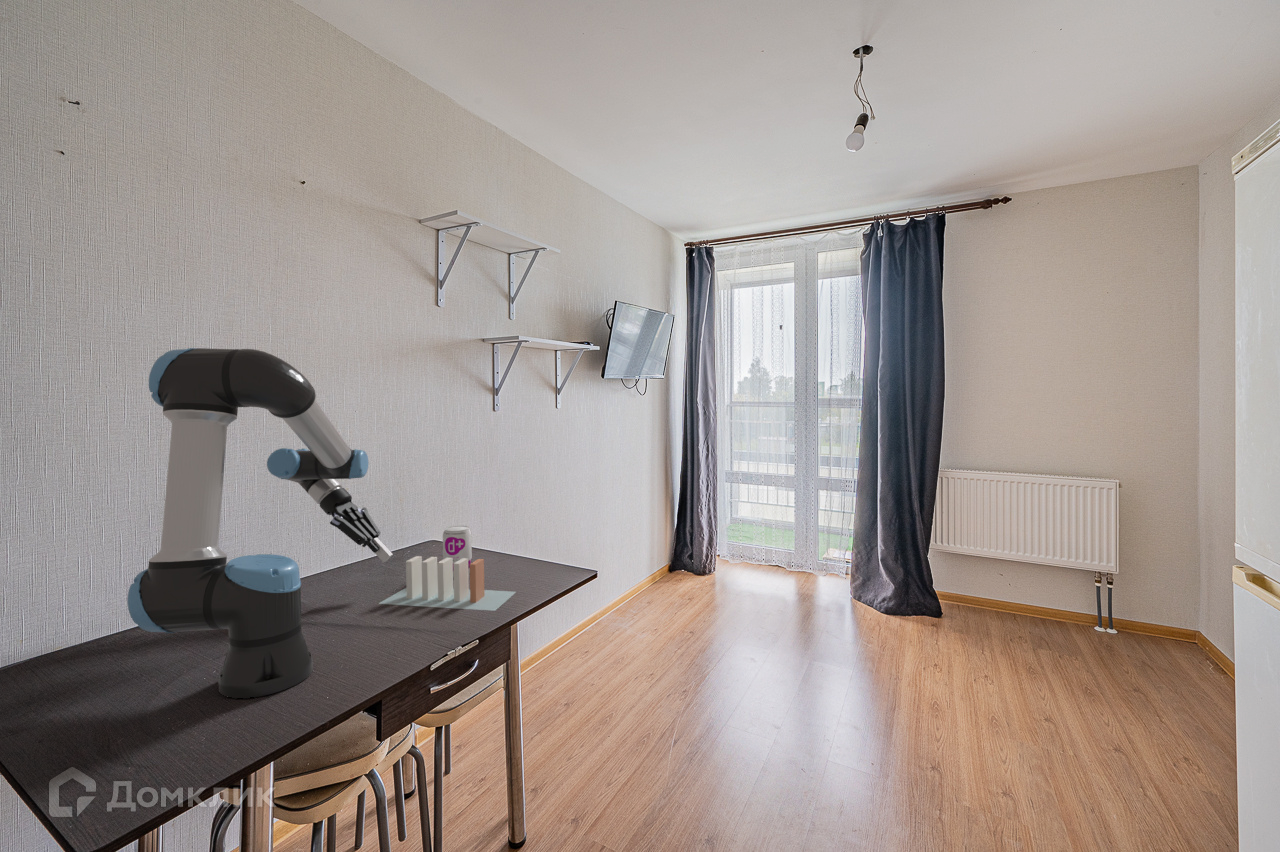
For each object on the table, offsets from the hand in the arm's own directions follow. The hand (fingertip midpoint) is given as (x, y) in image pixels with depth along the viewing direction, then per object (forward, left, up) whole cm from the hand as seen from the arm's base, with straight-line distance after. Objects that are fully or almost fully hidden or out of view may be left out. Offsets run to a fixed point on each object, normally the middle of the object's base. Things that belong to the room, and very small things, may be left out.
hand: (388, 558), depth 152 cm
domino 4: (-1, -22, -10) cm, 24 cm away
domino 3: (-1, -17, -10) cm, 20 cm away
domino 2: (-1, -13, -10) cm, 16 cm away
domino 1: (-1, -8, -10) cm, 13 cm away
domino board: (-1, -18, -11) cm, 21 cm away
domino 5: (-1, -26, -10) cm, 28 cm away
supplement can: (+19, -10, -11) cm, 24 cm away
